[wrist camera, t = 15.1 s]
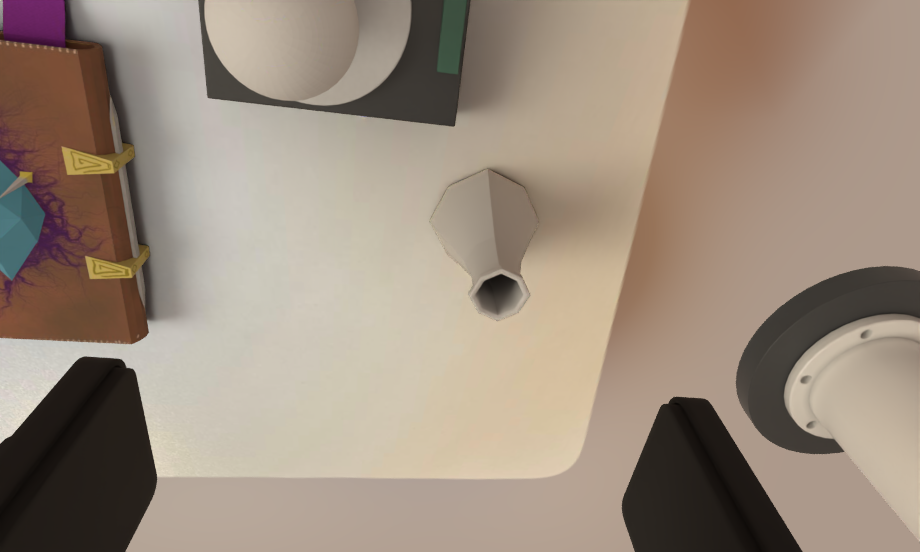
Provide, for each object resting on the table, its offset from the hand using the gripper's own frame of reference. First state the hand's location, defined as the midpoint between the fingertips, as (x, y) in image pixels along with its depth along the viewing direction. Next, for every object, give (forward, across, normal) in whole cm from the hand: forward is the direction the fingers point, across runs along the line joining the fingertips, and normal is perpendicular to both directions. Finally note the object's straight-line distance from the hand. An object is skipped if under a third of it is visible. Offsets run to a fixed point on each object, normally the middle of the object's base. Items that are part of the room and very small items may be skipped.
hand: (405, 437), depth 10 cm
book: (+28, +26, +7) cm, 39 cm away
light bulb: (+25, +6, -4) cm, 26 cm away
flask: (+28, -5, +8) cm, 30 cm away
